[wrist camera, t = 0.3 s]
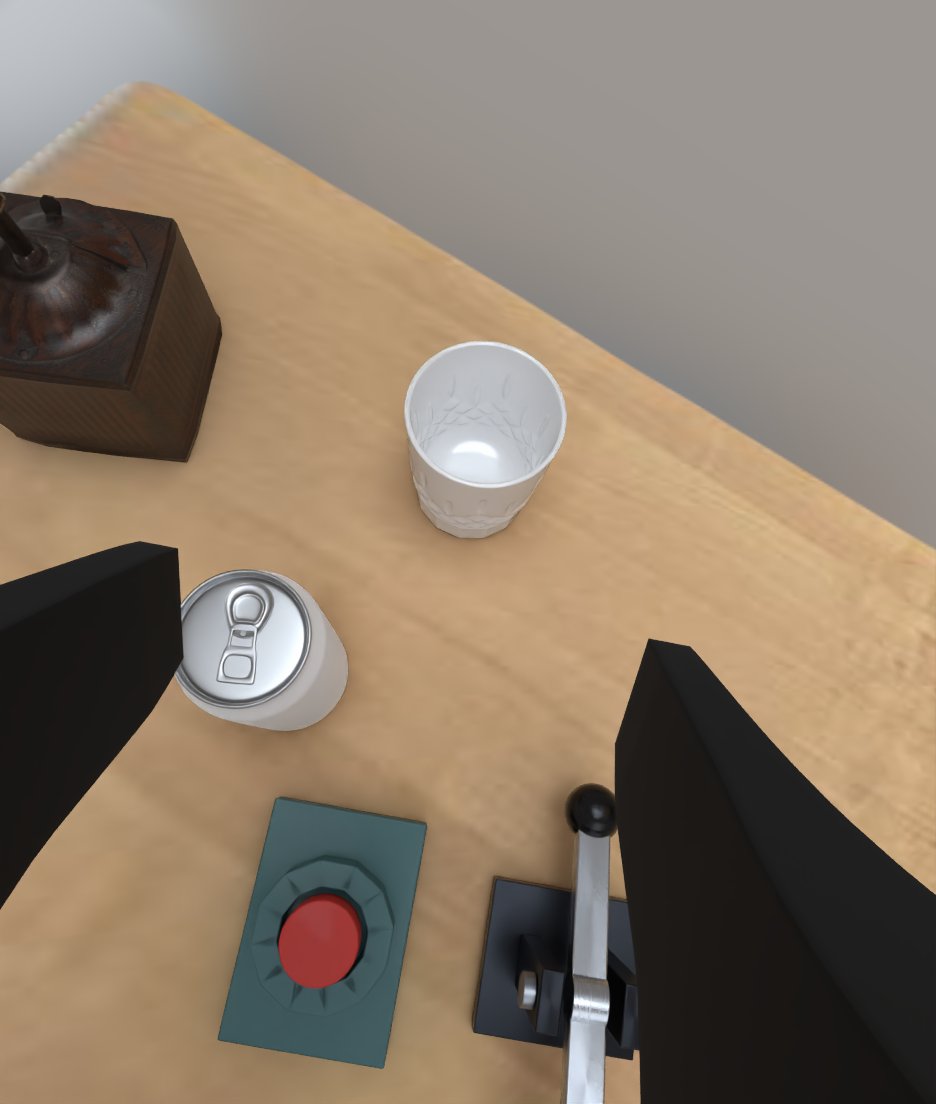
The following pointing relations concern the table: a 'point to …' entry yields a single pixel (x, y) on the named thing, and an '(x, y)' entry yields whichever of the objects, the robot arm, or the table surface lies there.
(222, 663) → the can
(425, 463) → the white cup
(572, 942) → the lever
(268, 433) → the table surface
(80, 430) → the brown coffee grinder
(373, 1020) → the button block
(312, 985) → the button
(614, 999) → the bracket
